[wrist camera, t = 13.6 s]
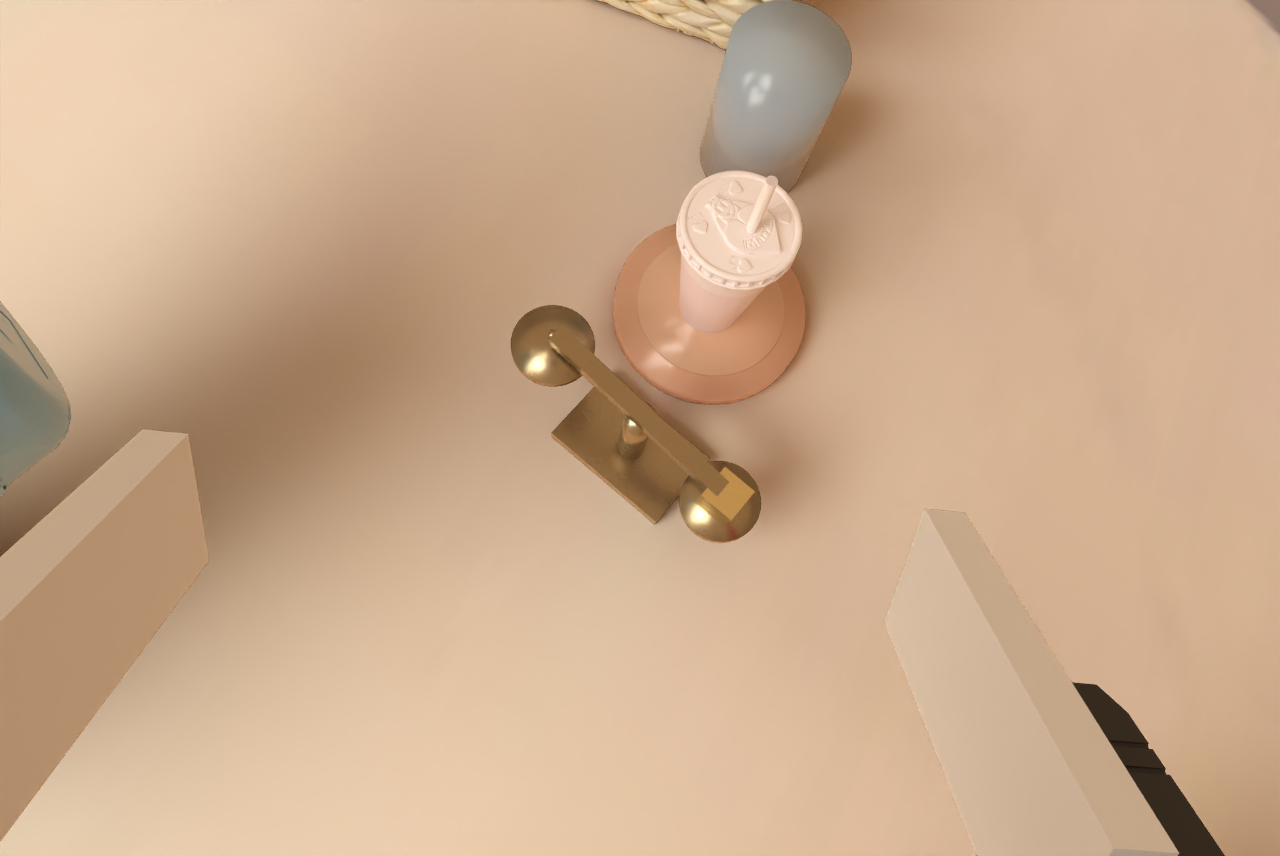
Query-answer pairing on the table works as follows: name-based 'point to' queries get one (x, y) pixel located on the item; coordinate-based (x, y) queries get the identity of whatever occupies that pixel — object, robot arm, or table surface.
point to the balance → (631, 434)
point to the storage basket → (692, 15)
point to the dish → (692, 357)
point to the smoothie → (733, 245)
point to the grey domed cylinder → (775, 91)
